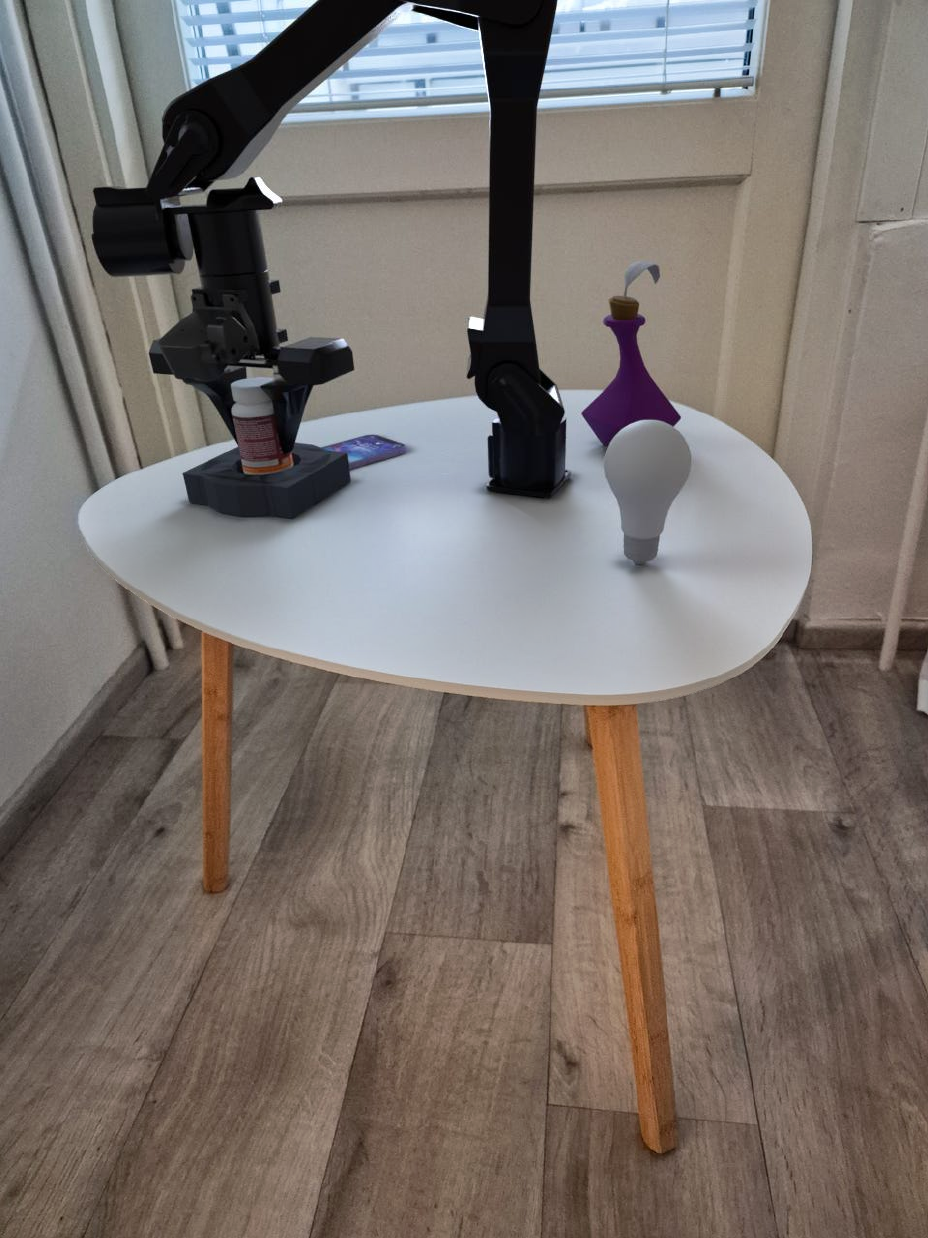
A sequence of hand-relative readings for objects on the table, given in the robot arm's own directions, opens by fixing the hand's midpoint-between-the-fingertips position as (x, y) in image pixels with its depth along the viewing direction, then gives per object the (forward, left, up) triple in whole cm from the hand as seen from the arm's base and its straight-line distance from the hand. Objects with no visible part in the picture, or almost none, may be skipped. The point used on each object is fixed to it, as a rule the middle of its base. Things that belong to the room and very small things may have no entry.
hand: (265, 449), depth 75 cm
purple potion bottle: (-29, -24, -4) cm, 38 cm away
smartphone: (-1, -10, -5) cm, 11 cm away
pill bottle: (0, 0, -2) cm, 2 cm away
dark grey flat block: (0, 0, -4) cm, 4 cm away
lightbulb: (-37, +3, -4) cm, 37 cm away
